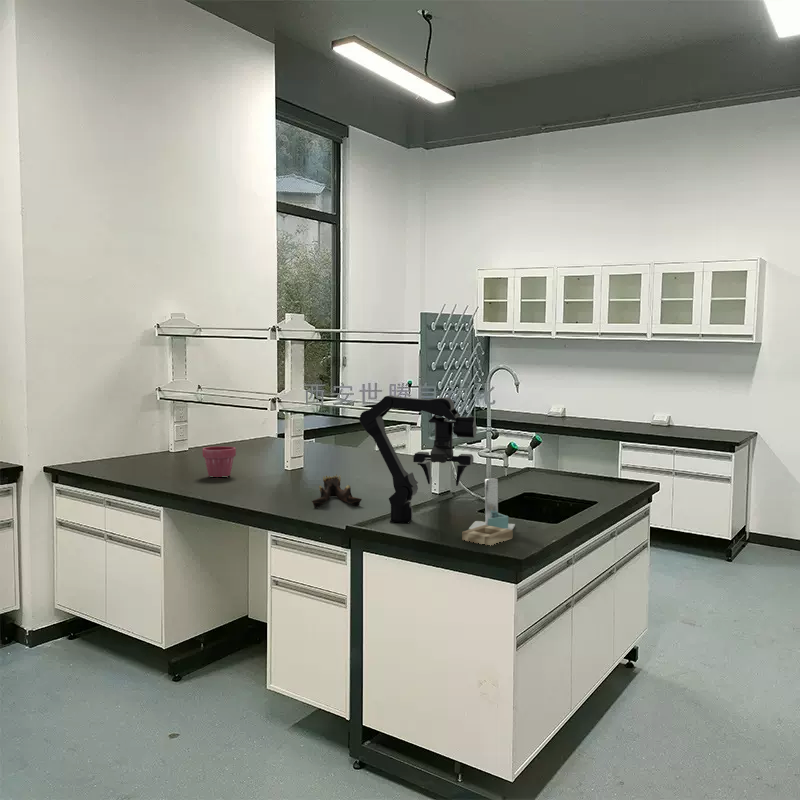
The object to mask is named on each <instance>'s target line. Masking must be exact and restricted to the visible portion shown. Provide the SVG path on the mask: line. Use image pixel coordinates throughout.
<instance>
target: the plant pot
mask: <svg viewBox="0 0 800 800" xmlns="http://www.w3.org/2000/svg"><path fill="white" fill-rule="evenodd" d="M236 455H237V448H236V447H235V446H228V445H227V446H226V445H224V446H223V445H222V446H220V445H219V446H218V445H217V446H215V445H214V446H205V447H202V458H204V462H205V466H206V470H207V473H208V475H207V476H208V477H209V476H213V477H222V476H229V475H230V476H231V474H232V473H231V472H232V469H233V464H234V458H235V457H237V456H236Z"/></svg>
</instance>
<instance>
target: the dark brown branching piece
mask: <svg viewBox="0 0 800 800" xmlns="http://www.w3.org/2000/svg"><path fill="white" fill-rule="evenodd" d="M341 479H342V478H341V475H340V474H339V475H338V474H335V475H333V476H330V475H327V474H326V475H323V477H322V481H323V486H322V485H319V486H318V488H319V492H320V497H319V498H316V499H314V500H311V502H312V504H313V507H314V508H320V507H321V505H323V504H325V503H326V502H327V501H329V499H331V498H332V497H334V498H335V497H337V498H338V500H340V501H342V502H345V503H349V504H351V505H353V506H355V507H358V506H360V504H361V502H362V500H363V499H362V498H359V497H355V496H353V495H352V491H351V485H349V484H348V485H346V486H345V488H344V489H342V488H341Z"/></svg>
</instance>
